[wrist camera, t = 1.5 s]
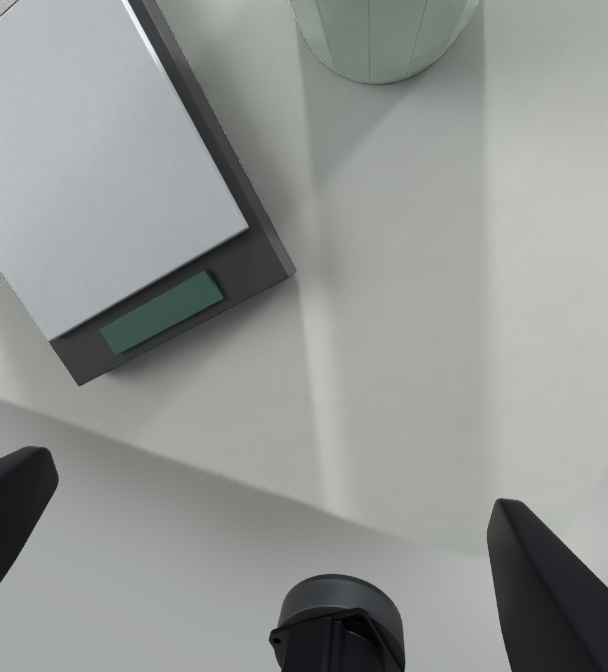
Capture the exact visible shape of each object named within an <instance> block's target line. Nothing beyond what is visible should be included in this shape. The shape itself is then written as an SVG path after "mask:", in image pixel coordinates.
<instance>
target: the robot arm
mask: <svg viewBox="0 0 608 672" xmlns="http://www.w3.org/2000/svg"><path fill="white" fill-rule="evenodd" d="M58 481H59V478H58V473H57V470H56V467H55V464H54V461H53V458H52V455H51V453H50V451H49V450H48V449H47V448H44V447H36V446H27V447H24V448H21V449H19V450H17V451H15V452H13V453H11V454H8V455H6V456H4V457H2V458H0V582H1V581H2V580H3V578H4V577H5V575H6V574H7V572H8V571H9V569H10V568H11V566H12V565H13V563H14V562H15V560H16V558H17V557H18V555H19V553H20V552H21V550H22V548H23V547H24V545H25V543H26V542H27V539H28V538H29V536H30V534H31V533H32V531H33V529H34V527H35V525H36V524H37V522H38V520H39V518H40V517H41V515H42V513H43V511H44V510H45V508H46V506H47V504H48V502H49V501H50V499H51V497H52V496H53V494H54V492H55V490H56V488H57V485H58ZM487 544H488V550H489V556H490V563H491V569H492V575H493V582H494V588H495V595H496V601H497V607H498V613H499V620H500V625H501V631H502V635H503V639H504V643H505V648H506V651H507V655H508V659H509V663H510V666H511V670H512V672H608V587H607V586H606V585H605V584H603V582H602V581H601V580H599V578H598V577H596V575H595V574H594V573H593V572H592V571H591V570H590V569H589V568H588V567H587V566H586V565H585V564H584V563H583V562H582V561H581V560H580V559H579V558H578V557H577V556H576V555H575V554H574V553H573V552H572V551H571V550H570V549H569V548H568V547H567V546H566V545H565V544H564V543H563V542H562V541H561V540H560V539H559V538H558V537H557V536H556V535H555V534H554V533H553V532H552V531H551V530H550V529H549V528H548V527H547V526H546V525H545V524H544V523H543V522H542V521H541V520H540V519H539V518H538V517H537V516H536V515H535V514H534V513H533V512H532V511H531V510H530V509H529V508H528V507H527V506H526V505H525V504H524V503H523V502H521V501H519V500H512V499H503V498H500V499H497V500H496V502H495V504H494V507H493V511H492V514H491V518H490V522H489V525H488V529H487ZM269 642H270V644H271V645H272V646H273V648H274V650H275V651H276V653H277V654H278V656H279V657H280V659H281V660H282V662H283V665H282V670H281V672H402V671H401V669H400V668H399V666H398V664H397V662H396V661H395V659H394V657H393V656H392V654H391V652H390V651H389V649H388V647H387V645H386V644H385V642H384V640H383V639H382V637H381V635H380V634H379V632H378V630H377V629H376V627H375V625H374V623H373V622H372V620H371V618H370V617H369V615H368V613H367V612H366V611H365V610H364V609H363V608H359V607H356V608H352V609H348V610H344V611H340V612H337V613H333V614H329V615H325V616H321V617H318V618H314V619H310V620H306V621H302V622H299V623H295V624H291V625H287V626H283V627H279V628H276V629H273V630H272V631H271V633H270V637H269Z"/></svg>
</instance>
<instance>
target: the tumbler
mask: <svg viewBox="0 0 608 672" xmlns="http://www.w3.org/2000/svg"><path fill="white" fill-rule="evenodd" d="M287 1H288V4H289V6H290V9H291V11H292V13H293V15H294V17H295V20H296V22H297V24H298V26H299V28H300V31H301V33H302V35H303V37H304V39H305V41H306V43H307V45H308V46H309V48H310V49H311V50H312V52H313V53H314V54H315V56H316V57H317V58H318V59H319V60H320V61H321V62H322V63H323V64H324V65H326V66H327V67H328V68H329V69H331V70H332V71H333V72H335V73H337V74H339V75H340V76H342V77H344V78H347V79H350V80H352V81H356V82H360V83H366V84H385V83H391V82H396V81H400V80H403V79H405V78H408V77H411V76H413V75H415V74H417V73H419V72H420V71H422V70H424V69H425V68H427V67H428V66H430V65H431V64H432V63H434V62H435V61H436V60H437V59H438V58H439V57H441V56H442V55H443V54H444V53H445V52H446V51H447V49H448V48H449V47H450V46H451V45H452V44H453V43H454V41H455V40H456V38H457V37H458V36H459V34H460V33H461V31H462V30H463V28H464V27H465V25H466V24H467V23H468V22H469V20H470V18H471V17H472V15H473V13H474V11H475V9H476V7H477V5H478V3H479V1H480V0H287Z"/></svg>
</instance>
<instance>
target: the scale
mask: <svg viewBox="0 0 608 672" xmlns="http://www.w3.org/2000/svg"><path fill="white" fill-rule="evenodd" d="M0 272H1V273H2V275H3V276H4V278H5V279H6V281H7V282H8V284H9V285H10V287H11V288H12V289H13V291H14V292H15V294H16V295H17V297H18V298H19V300H20V301H21V303H22V304H23V306H24V307H25V309H26V310H27V312H28V313H29V315H30V316H31V318H32V319H33V321H34V322H35V324H36V325H37V327H38V328H39V330H40V331H41V333H42V334H43V336H44V337H45V339H46V340H47V341H49V343H50V344H51V346H52V347H53V349H54V350H55V352H56V353H57V355H58V356H59V358H60V359H61V361H62V362H63V364H64V365H65V367H66V368H67V370H68V371H69V372H70V374H71V375H72V377H73V378H74V380H75V381H76V383H77V384H78V386H81V385H83V384H85V383H87V382H89V381H91V380H93V379H95V378H97V377H99V376H100V375H102V374H104V373H106V372H108V371H110V370H112V369H114V368H116V367H118V366H120V365H122V364H124V363H126V362H127V361H129V360H131V359H133V358H135V357H137V356H139V355H141V354H143V353H145V352H147V351H149V350H151V349H153V348H154V347H156V346H158V345H160V344H162V343H164V342H166V341H168V340H170V339H172V338H174V337H176V336H178V335H180V334H181V333H183V332H185V331H187V330H189V329H191V328H193V327H195V326H197V325H199V324H201V323H203V322H205V321H207V320H208V319H210V318H212V317H214V316H216V315H218V314H220V313H222V312H224V311H226V310H228V309H230V308H232V307H234V306H235V305H237V304H239V303H241V302H243V301H245V300H247V299H249V298H251V297H253V296H255V295H257V294H259V293H260V292H262V291H264V290H266V289H268V288H270V287H272V286H274V285H276V284H278V283H280V282H282V281H284V280H286V279H287V278H289V277H290V276H292V275H293V274H294V273H295V272H296V269H295V267H294V265H293V263H292V261H291V259H290V257H289V255H288V253H287V252H286V250H285V248H284V246H283V244H282V242H281V240H280V238H279V236H278V234H277V232H276V231H275V229H274V227H273V225H272V223H271V221H270V219H269V217H268V215H267V213H266V211H265V210H264V208H263V206H262V204H261V202H260V200H259V198H258V196H257V194H256V192H255V190H254V189H253V187H252V185H251V183H250V181H249V179H248V177H247V175H246V173H245V171H244V169H243V168H242V166H241V164H240V162H239V160H238V158H237V156H236V154H235V152H234V150H233V148H232V147H231V145H230V143H229V141H228V139H227V137H226V135H225V133H224V131H223V129H222V127H221V126H220V124H219V122H218V120H217V118H216V116H215V114H214V112H213V110H212V108H211V106H210V105H209V103H208V101H207V99H206V97H205V95H204V93H203V91H202V89H201V87H200V85H199V84H198V82H197V80H196V78H195V76H194V74H193V72H192V70H191V68H190V66H189V64H188V63H187V61H186V59H185V57H184V55H183V53H182V51H181V49H180V47H179V45H178V43H177V42H176V40H175V38H174V36H173V34H172V32H171V30H170V28H169V26H168V24H167V22H166V21H165V19H164V17H163V15H162V13H161V11H160V9H159V7H158V5H157V3H156V1H155V0H17V1H15V2H14V3H13V4H12V5H11V6H10V7H9V8H8V9H7V10H6V11H4V12H3V13H2V14H1V15H0Z"/></svg>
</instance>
